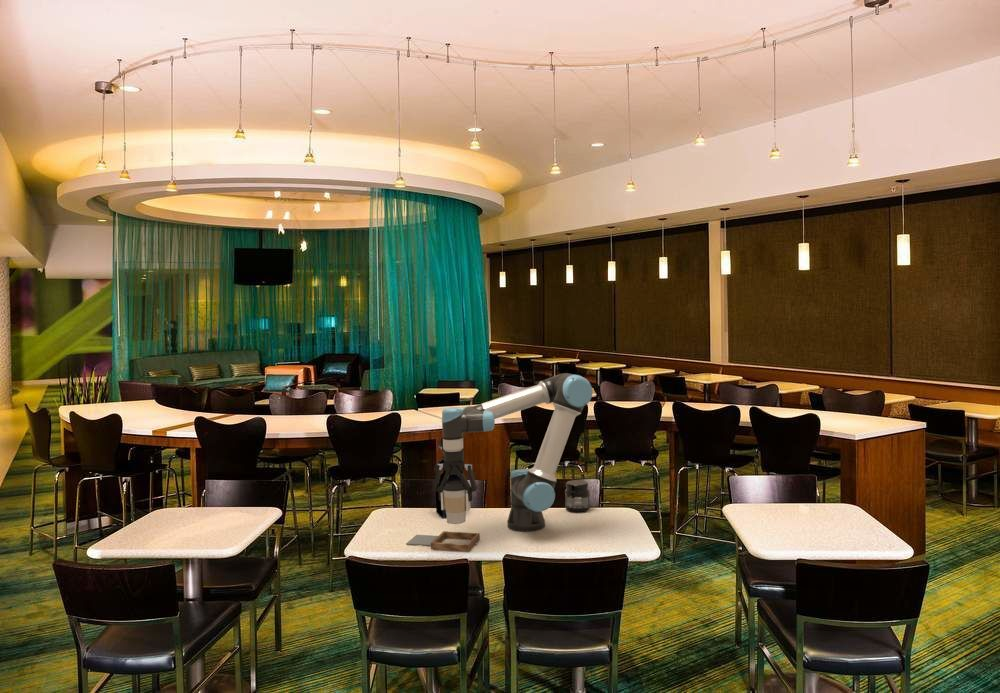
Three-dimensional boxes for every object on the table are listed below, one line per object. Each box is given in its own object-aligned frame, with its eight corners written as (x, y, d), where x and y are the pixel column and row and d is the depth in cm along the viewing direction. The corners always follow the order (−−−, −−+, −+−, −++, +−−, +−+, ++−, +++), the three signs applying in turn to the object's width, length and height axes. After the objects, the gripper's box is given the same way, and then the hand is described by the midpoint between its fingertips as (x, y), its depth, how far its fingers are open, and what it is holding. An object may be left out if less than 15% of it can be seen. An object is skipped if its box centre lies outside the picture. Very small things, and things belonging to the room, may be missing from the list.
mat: (443, 537, 280) (443, 536, 280) (433, 546, 269) (433, 545, 269) (416, 535, 283) (416, 534, 283) (406, 544, 272) (406, 543, 272)
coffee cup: (455, 516, 277) (454, 477, 276) (473, 520, 271) (471, 480, 270) (439, 522, 270) (437, 482, 269) (457, 526, 264) (455, 485, 263)
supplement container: (578, 505, 321) (578, 478, 321) (594, 510, 312) (594, 483, 312) (560, 509, 315) (559, 482, 315) (576, 514, 306) (575, 486, 306)
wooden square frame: (479, 539, 276) (479, 533, 276) (469, 552, 262) (468, 545, 262) (443, 537, 280) (443, 531, 280) (431, 549, 266) (430, 543, 266)
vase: (431, 511, 318) (429, 431, 316) (457, 508, 322) (455, 429, 320) (439, 519, 304) (437, 436, 303) (466, 516, 308) (463, 434, 306)
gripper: (484, 448, 270) (486, 507, 271) (429, 447, 275) (431, 505, 277) (478, 452, 263) (481, 513, 264) (422, 451, 268) (424, 511, 269)
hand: (455, 509), depth 270 cm, fingers closed on coffee cup, 9 cm apart
